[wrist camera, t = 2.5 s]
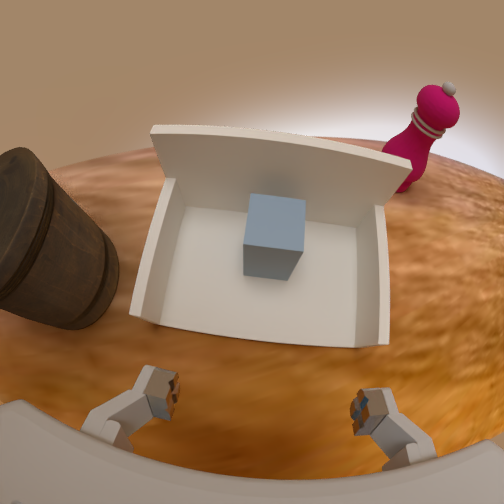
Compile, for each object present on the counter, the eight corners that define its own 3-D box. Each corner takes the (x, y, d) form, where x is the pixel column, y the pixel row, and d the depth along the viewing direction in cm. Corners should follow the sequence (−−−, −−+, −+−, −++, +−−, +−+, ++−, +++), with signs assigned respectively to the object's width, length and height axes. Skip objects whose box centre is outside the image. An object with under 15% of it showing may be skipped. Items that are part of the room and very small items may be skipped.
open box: (152, 323, 29) (91, 297, 16) (180, 201, 35) (153, 124, 22) (360, 347, 29) (432, 337, 16) (360, 224, 35) (410, 160, 22)
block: (243, 275, 31) (243, 243, 22) (248, 235, 32) (250, 193, 24) (287, 280, 31) (303, 251, 22) (290, 240, 32) (305, 200, 24)
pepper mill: (415, 197, 37) (485, 111, 18) (379, 194, 37) (446, 94, 18) (402, 161, 40) (456, 75, 21) (367, 157, 39) (416, 58, 21)
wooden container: (104, 209, 35) (24, 96, 14) (135, 302, 30) (2, 216, 10) (32, 255, 32) (-63, 181, 11) (51, 345, 27) (-81, 310, 7)
